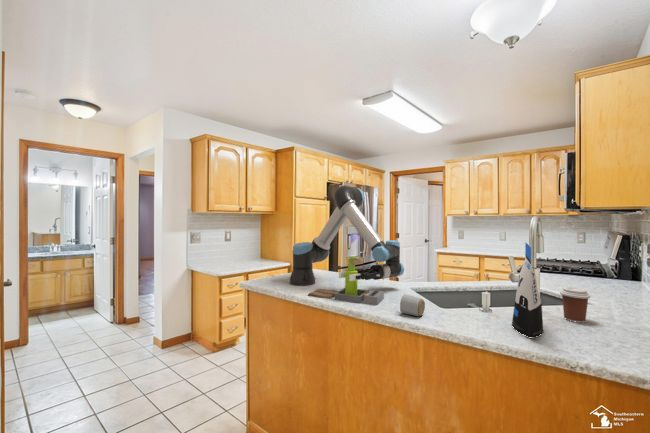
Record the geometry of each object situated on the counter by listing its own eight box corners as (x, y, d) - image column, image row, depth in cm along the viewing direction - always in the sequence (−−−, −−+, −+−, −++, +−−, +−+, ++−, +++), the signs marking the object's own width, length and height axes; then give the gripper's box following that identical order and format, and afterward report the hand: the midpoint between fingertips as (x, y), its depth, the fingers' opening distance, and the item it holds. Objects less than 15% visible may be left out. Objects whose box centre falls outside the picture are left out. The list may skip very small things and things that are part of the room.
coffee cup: (594, 321, 116) (594, 290, 116) (583, 325, 112) (584, 293, 112) (566, 314, 124) (566, 285, 124) (555, 318, 120) (555, 287, 120)
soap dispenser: (356, 300, 143) (356, 258, 143) (343, 298, 146) (343, 257, 146) (361, 297, 148) (361, 256, 148) (348, 295, 151) (348, 255, 151)
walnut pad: (319, 290, 162) (319, 288, 162) (339, 293, 156) (339, 291, 156) (308, 295, 151) (308, 293, 151) (330, 298, 146) (330, 296, 146)
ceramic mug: (419, 319, 118) (419, 299, 118) (399, 314, 123) (399, 295, 123) (428, 312, 126) (428, 294, 127) (409, 309, 131) (409, 291, 131)
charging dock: (344, 293, 156) (344, 285, 156) (384, 298, 147) (384, 290, 147) (334, 299, 144) (334, 291, 144) (376, 305, 135) (376, 296, 135)
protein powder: (539, 320, 118) (540, 242, 118) (547, 342, 97) (548, 248, 97) (510, 316, 123) (511, 241, 122) (512, 336, 102) (513, 246, 101)
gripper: (393, 282, 149) (358, 288, 136) (366, 275, 166) (331, 280, 153) (394, 267, 149) (358, 272, 136) (366, 261, 166) (331, 265, 153)
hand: (344, 276), depth 144 cm, fingers open, 7 cm apart
